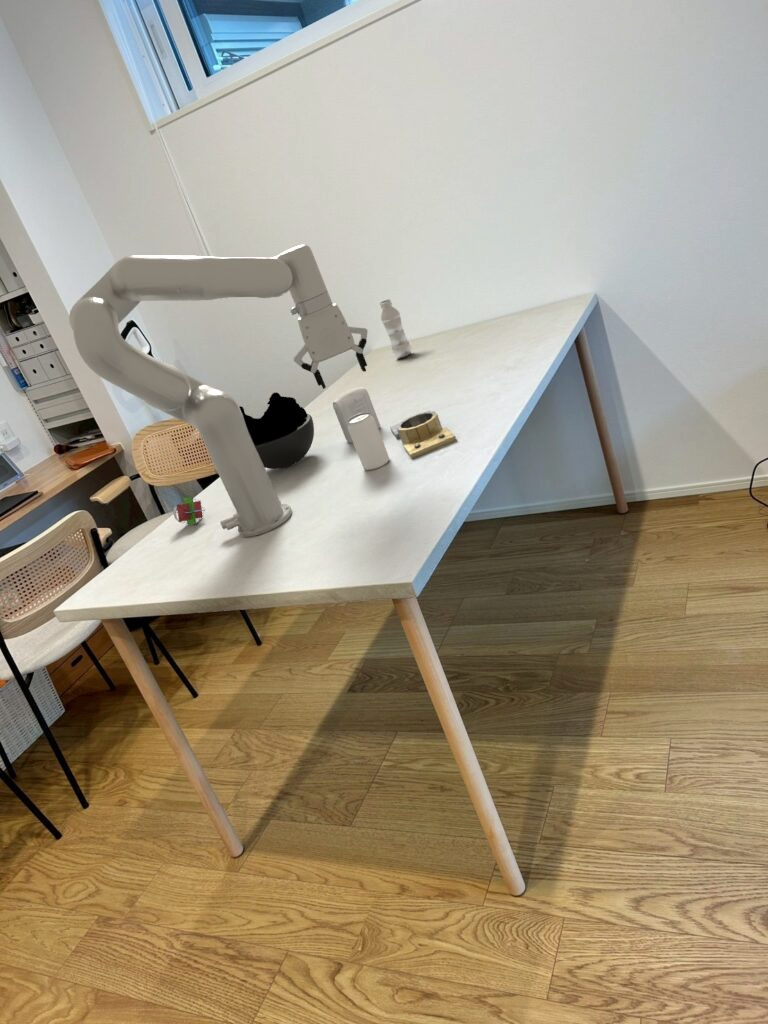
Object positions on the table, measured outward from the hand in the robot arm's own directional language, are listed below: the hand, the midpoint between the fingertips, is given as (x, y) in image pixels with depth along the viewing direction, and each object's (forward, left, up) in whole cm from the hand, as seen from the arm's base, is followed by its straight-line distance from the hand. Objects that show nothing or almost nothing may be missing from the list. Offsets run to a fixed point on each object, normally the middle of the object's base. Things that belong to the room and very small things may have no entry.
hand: (344, 378), depth 174 cm
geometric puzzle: (-46, +12, -22) cm, 52 cm away
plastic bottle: (+27, +96, -22) cm, 102 cm away
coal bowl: (-20, +27, -22) cm, 40 cm away
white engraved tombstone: (+1, +27, -22) cm, 35 cm away
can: (0, 0, -22) cm, 22 cm away
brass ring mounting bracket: (+13, +7, -21) cm, 26 cm away
